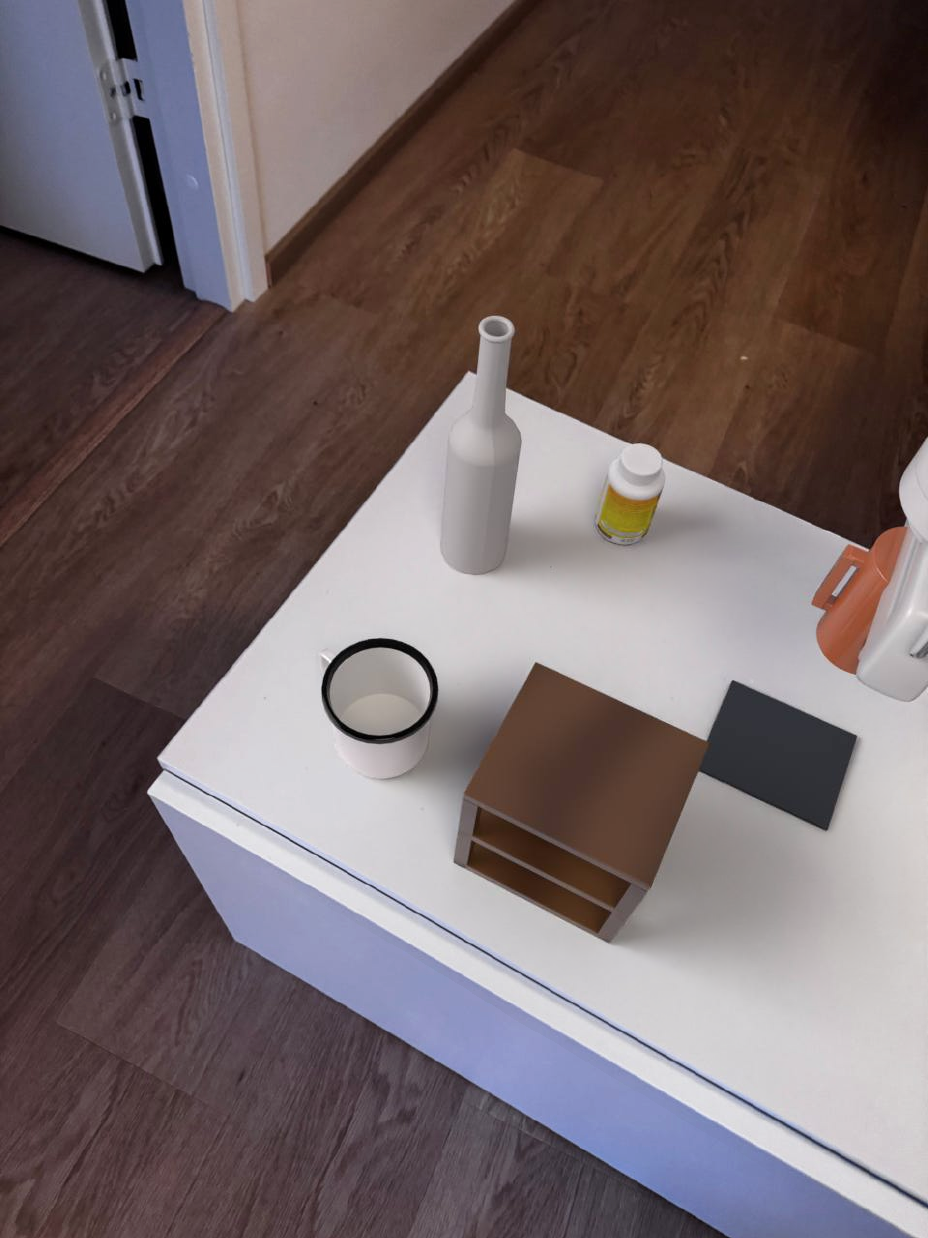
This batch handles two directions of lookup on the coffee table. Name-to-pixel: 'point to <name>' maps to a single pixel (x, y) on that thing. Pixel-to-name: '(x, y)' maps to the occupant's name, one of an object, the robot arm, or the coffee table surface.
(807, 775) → the mat
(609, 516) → the supplement bottle
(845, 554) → the orange two-handled pot
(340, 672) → the mug
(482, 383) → the bottle
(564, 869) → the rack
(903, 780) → the coffee table surface
